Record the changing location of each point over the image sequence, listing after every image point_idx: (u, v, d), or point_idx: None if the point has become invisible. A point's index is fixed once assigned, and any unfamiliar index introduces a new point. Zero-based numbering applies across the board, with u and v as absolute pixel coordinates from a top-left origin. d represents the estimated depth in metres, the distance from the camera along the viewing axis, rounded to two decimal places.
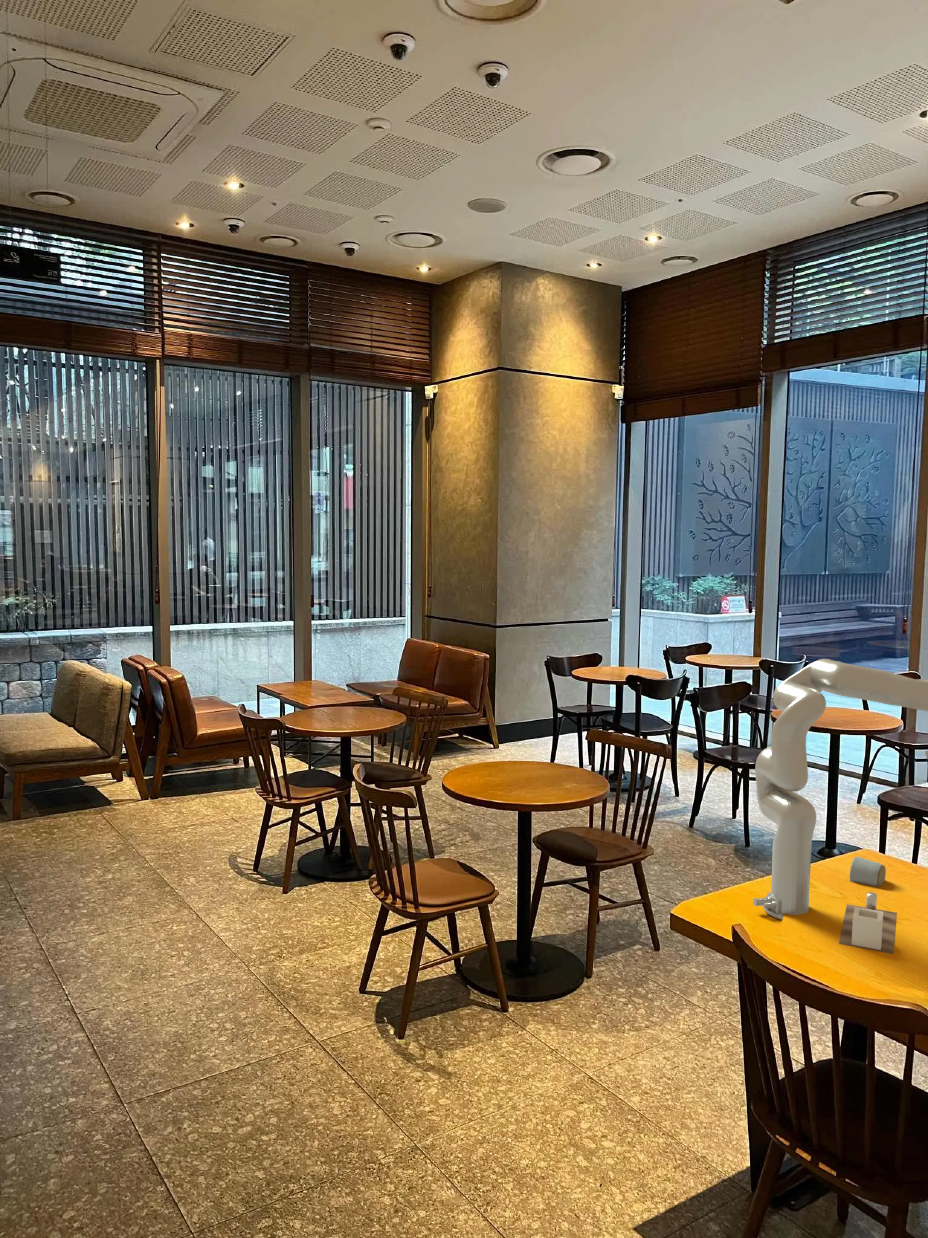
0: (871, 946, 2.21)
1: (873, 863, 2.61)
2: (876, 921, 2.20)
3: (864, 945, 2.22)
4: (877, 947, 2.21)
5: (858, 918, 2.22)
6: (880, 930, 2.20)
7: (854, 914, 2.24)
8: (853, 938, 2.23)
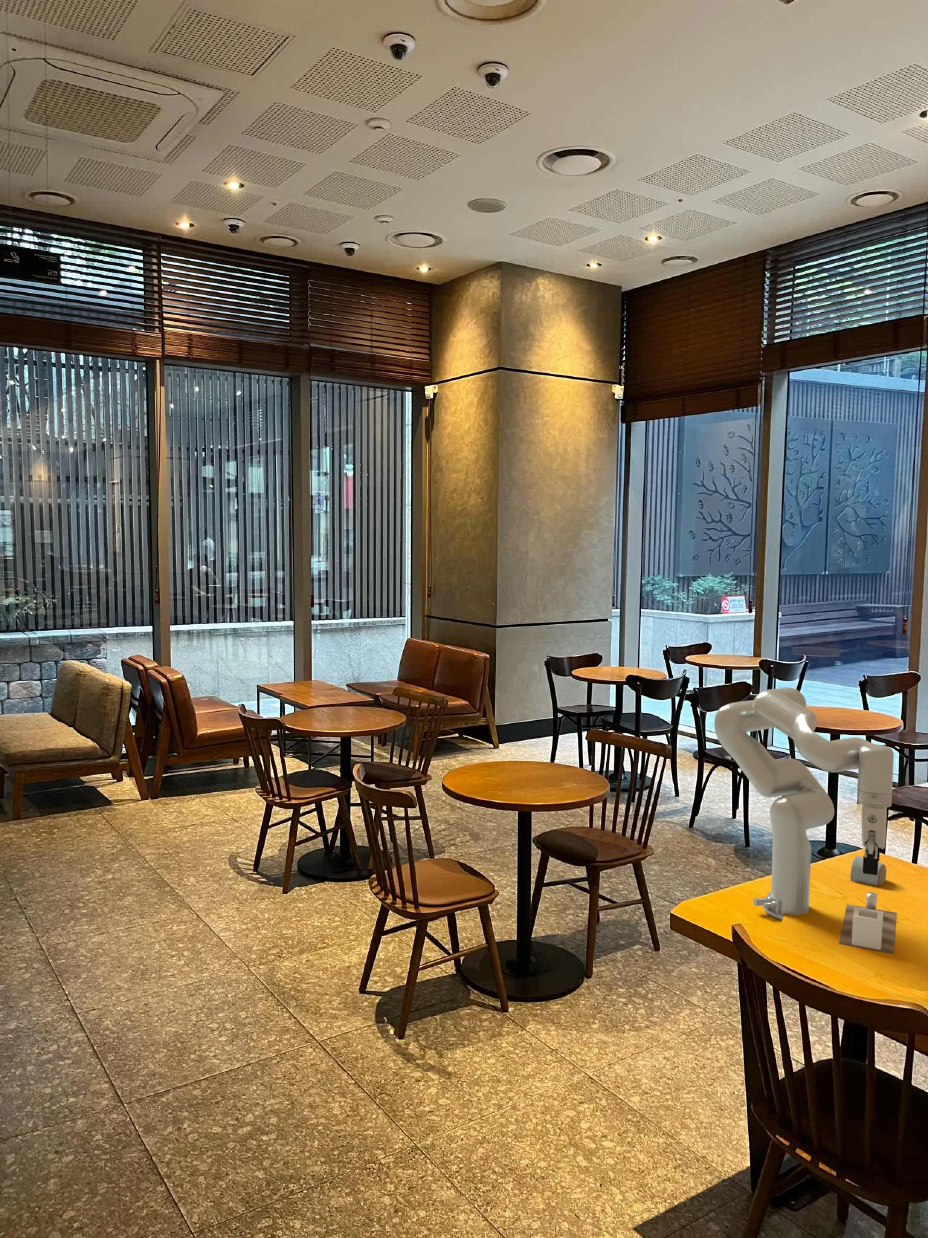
0: (871, 946, 2.21)
1: None
2: (876, 921, 2.20)
3: (864, 945, 2.22)
4: (877, 947, 2.21)
5: (858, 918, 2.22)
6: (880, 930, 2.20)
7: (854, 914, 2.24)
8: (853, 938, 2.23)
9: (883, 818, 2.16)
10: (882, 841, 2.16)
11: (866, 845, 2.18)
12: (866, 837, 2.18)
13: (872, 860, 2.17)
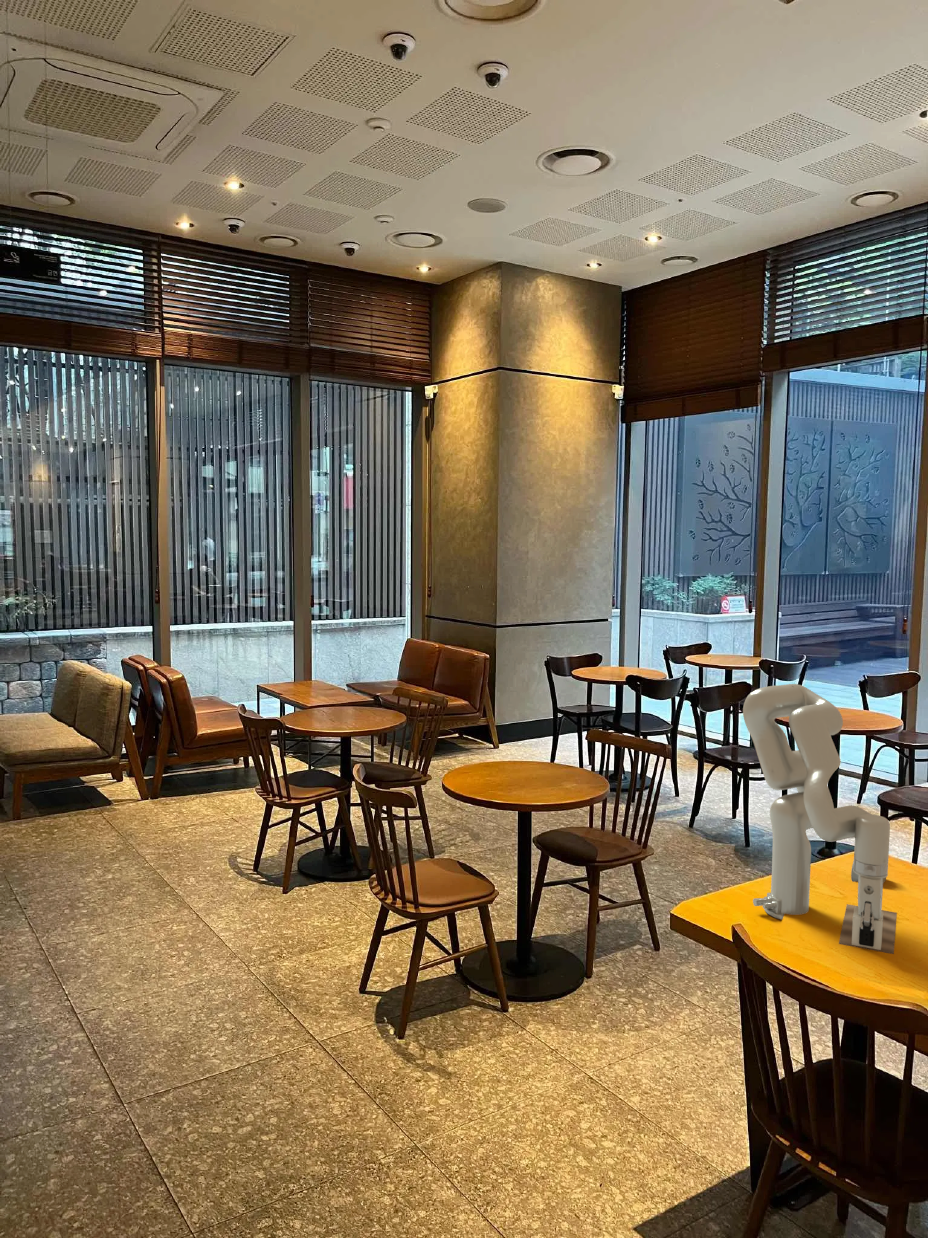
0: None
1: None
2: (876, 921, 2.20)
3: (864, 945, 2.22)
4: (877, 947, 2.21)
5: (858, 918, 2.22)
6: (880, 930, 2.20)
7: (854, 914, 2.24)
8: (853, 938, 2.23)
9: (879, 889, 2.18)
10: (878, 912, 2.18)
11: (862, 917, 2.21)
12: (862, 908, 2.20)
13: (868, 932, 2.20)
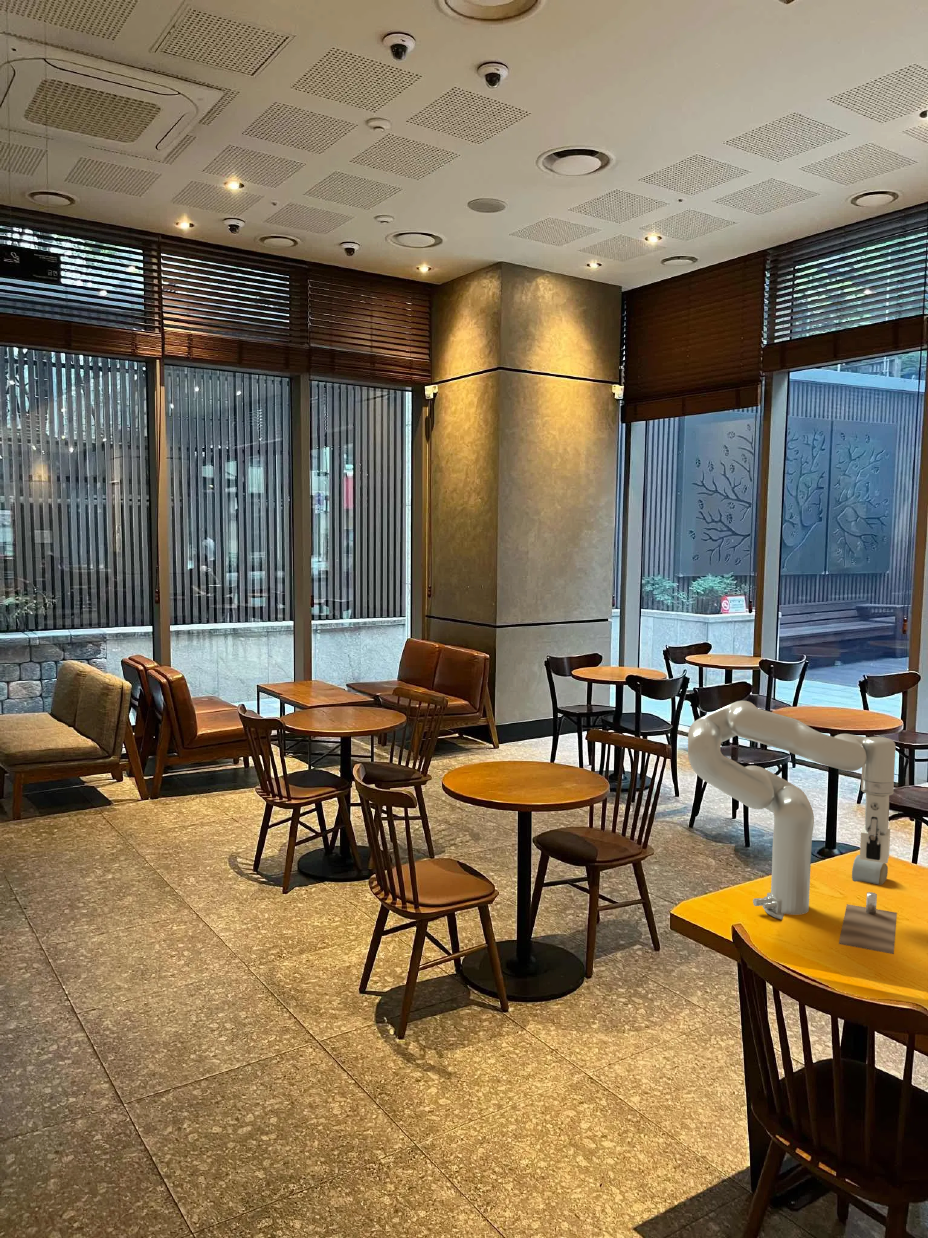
0: (878, 860, 2.35)
1: None
2: (883, 836, 2.34)
3: (871, 859, 2.36)
4: (884, 861, 2.35)
5: (866, 834, 2.36)
6: (886, 844, 2.34)
7: (862, 830, 2.38)
8: (861, 853, 2.37)
9: (885, 805, 2.32)
10: (884, 827, 2.32)
11: (869, 832, 2.35)
12: (869, 823, 2.34)
13: (875, 846, 2.34)
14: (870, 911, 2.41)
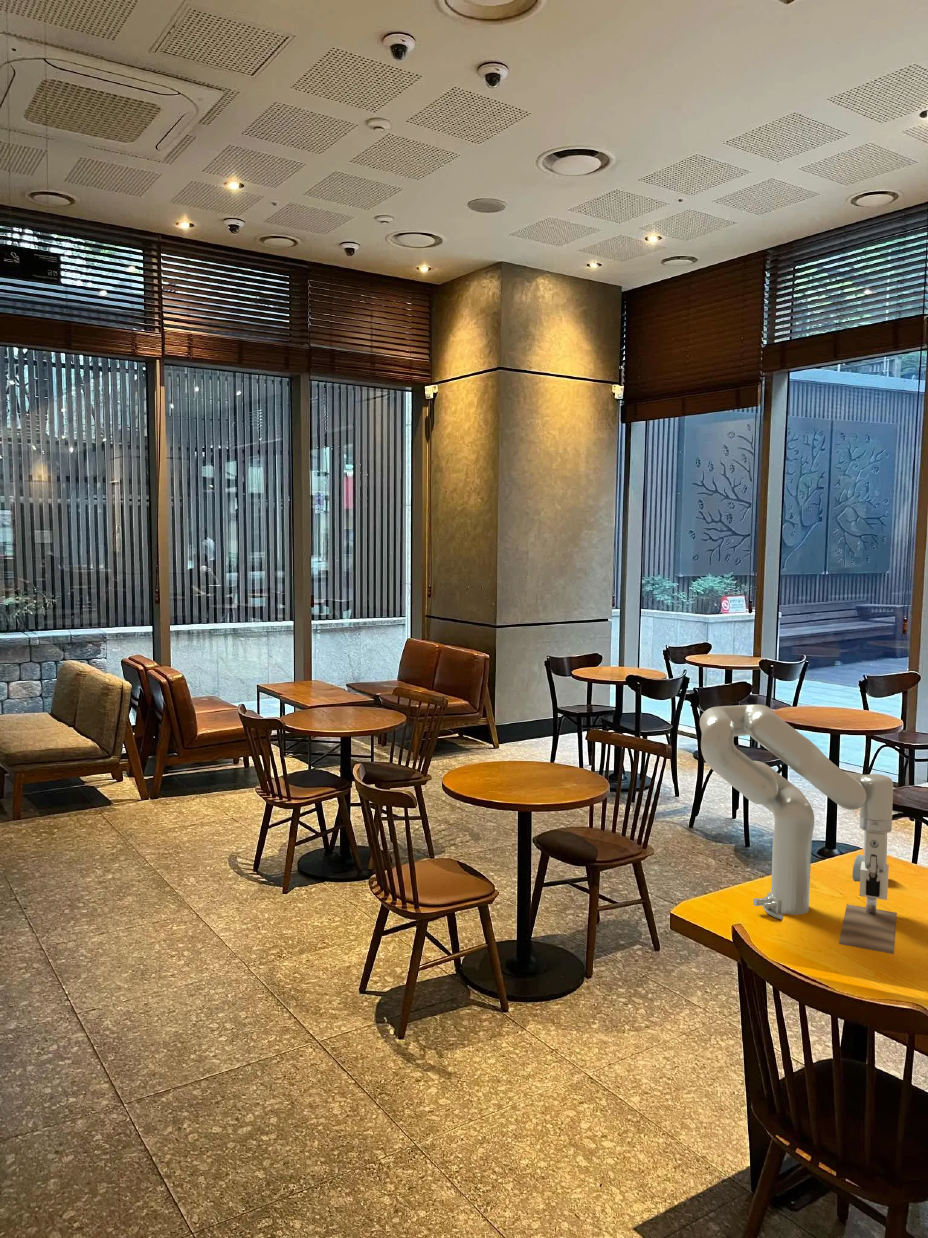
0: None
1: None
2: (882, 873, 2.37)
3: (871, 896, 2.38)
4: (883, 897, 2.37)
5: (865, 871, 2.38)
6: (886, 881, 2.36)
7: (861, 867, 2.40)
8: (861, 890, 2.39)
9: (884, 843, 2.35)
10: (883, 864, 2.35)
11: (868, 869, 2.37)
12: (868, 860, 2.36)
13: (874, 883, 2.36)
14: (870, 911, 2.41)
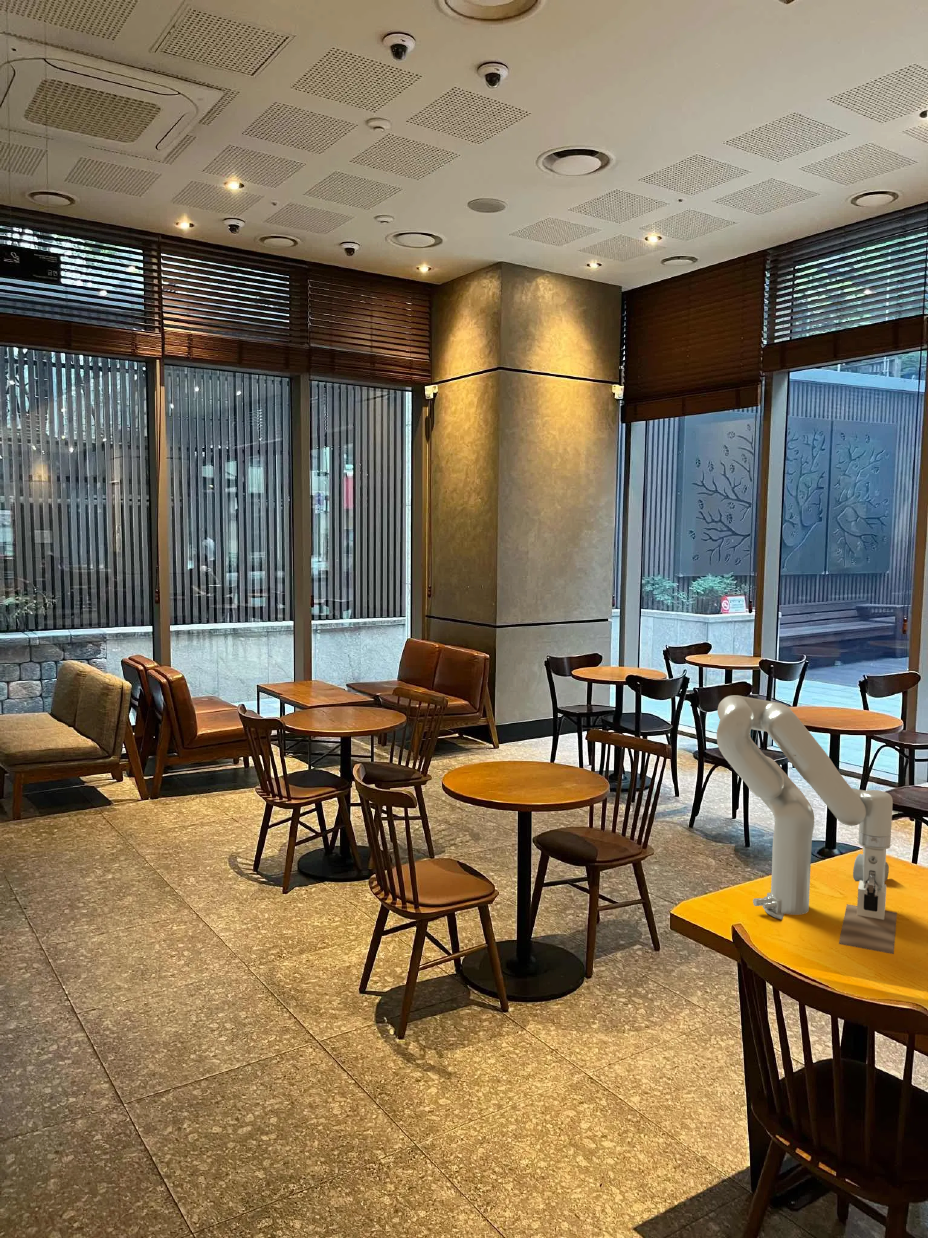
0: (875, 916, 2.38)
1: None
2: (880, 893, 2.37)
3: (868, 915, 2.39)
4: (881, 917, 2.38)
5: (863, 890, 2.39)
6: (883, 901, 2.37)
7: (859, 887, 2.41)
8: (858, 909, 2.40)
9: (882, 859, 2.35)
10: (881, 880, 2.35)
11: (867, 884, 2.37)
12: (867, 876, 2.36)
13: (872, 898, 2.36)
14: None
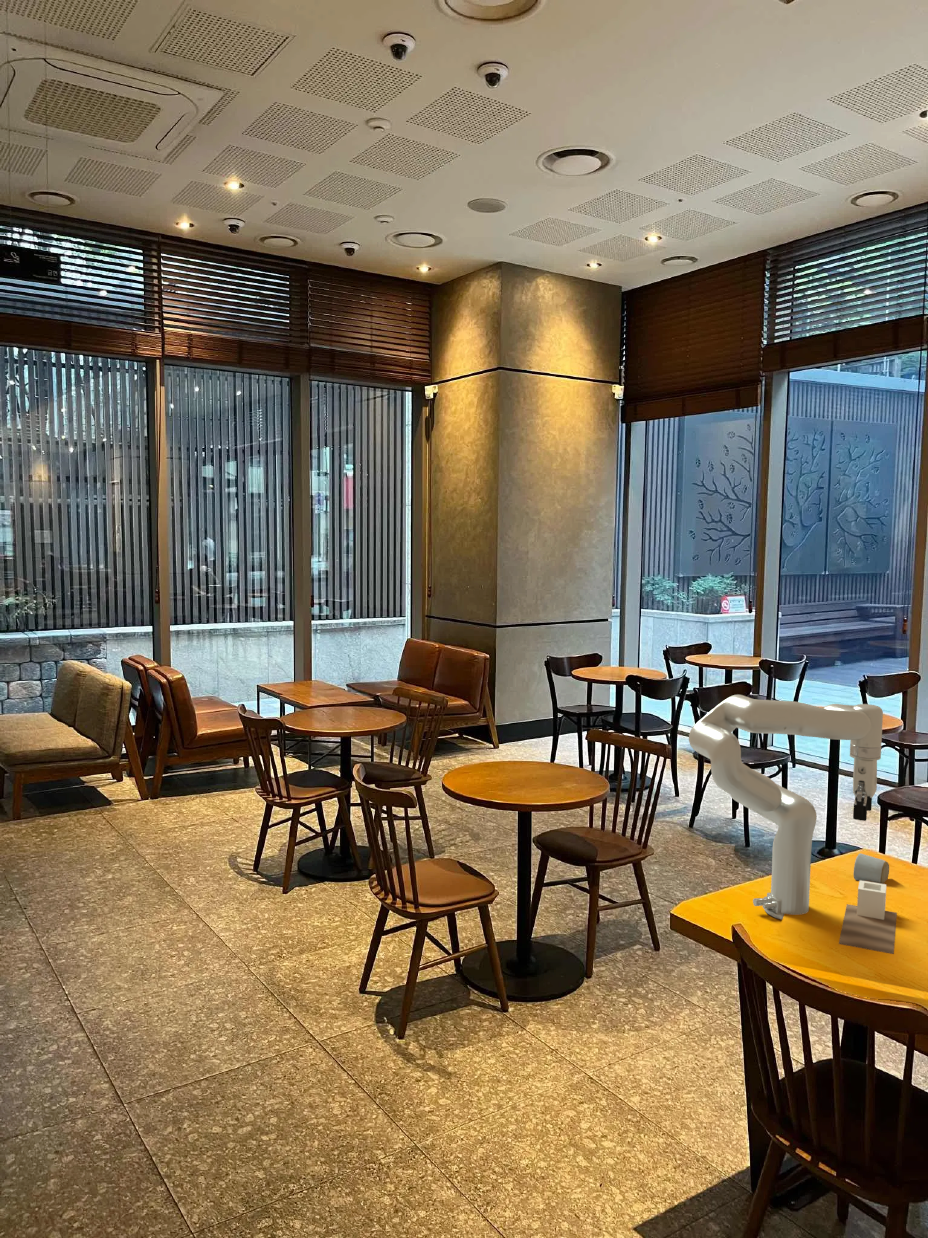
0: (875, 916, 2.38)
1: (877, 860, 2.64)
2: (880, 893, 2.37)
3: (868, 915, 2.39)
4: (881, 917, 2.38)
5: (863, 890, 2.39)
6: (883, 901, 2.37)
7: (859, 887, 2.41)
8: (858, 909, 2.40)
9: (872, 769, 2.41)
10: (870, 790, 2.41)
11: (856, 794, 2.43)
12: (856, 786, 2.43)
13: (861, 807, 2.42)
14: None
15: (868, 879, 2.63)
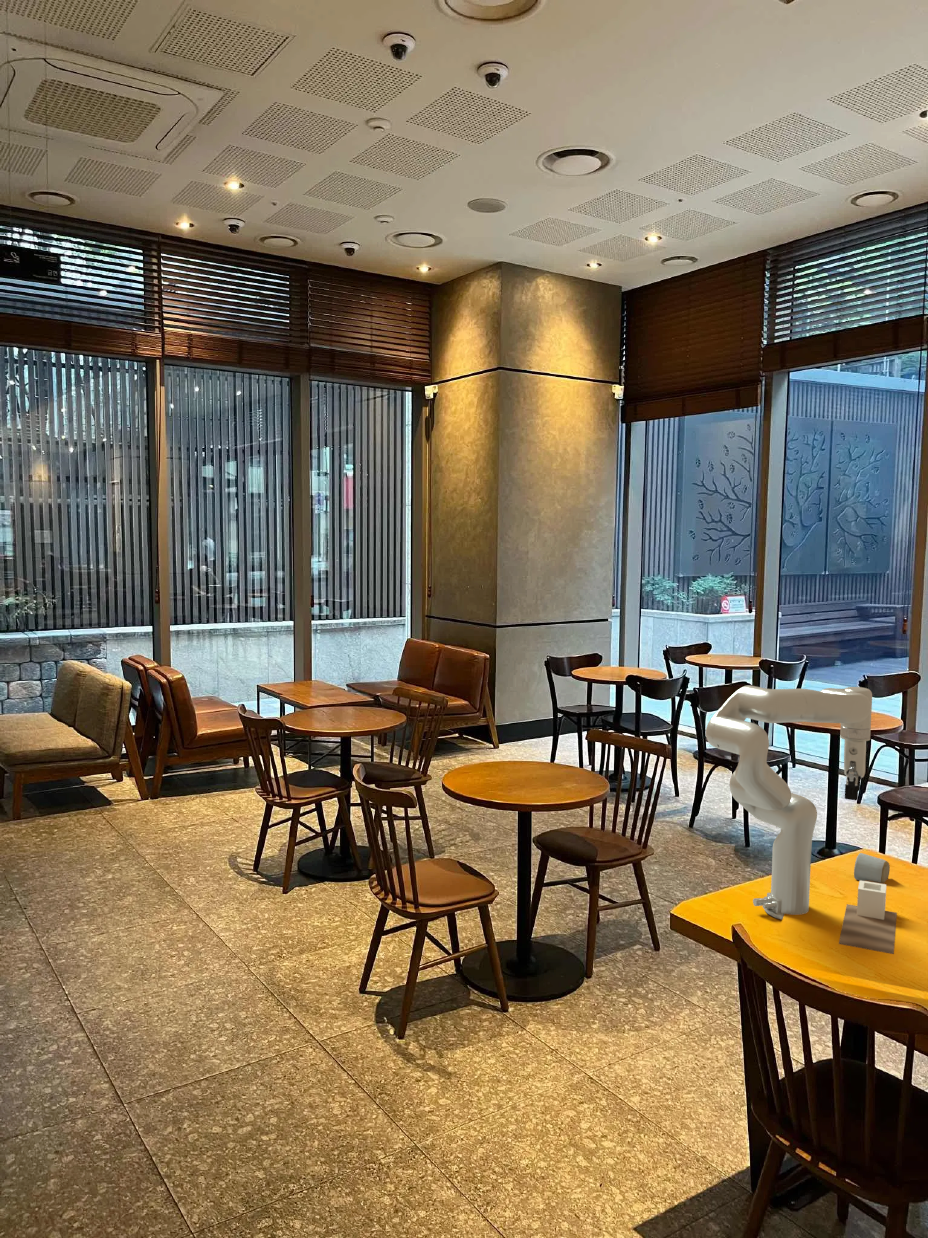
0: (875, 916, 2.38)
1: (877, 859, 2.64)
2: (880, 893, 2.37)
3: (868, 915, 2.39)
4: (881, 917, 2.38)
5: (863, 890, 2.39)
6: (883, 901, 2.37)
7: (859, 887, 2.41)
8: (858, 909, 2.40)
9: (862, 750, 2.48)
10: (861, 770, 2.48)
11: (848, 774, 2.50)
12: (848, 767, 2.49)
13: (853, 787, 2.48)
14: None
15: (868, 879, 2.63)
